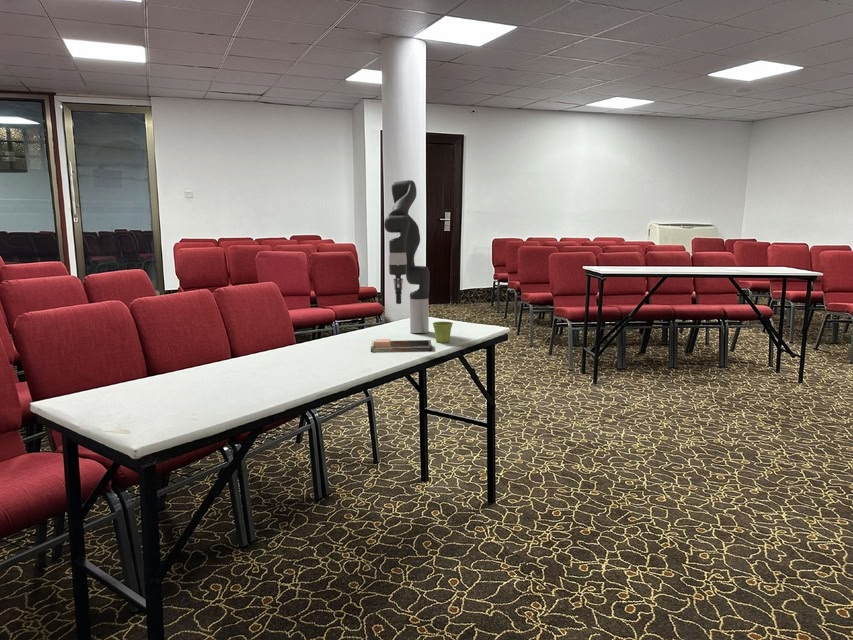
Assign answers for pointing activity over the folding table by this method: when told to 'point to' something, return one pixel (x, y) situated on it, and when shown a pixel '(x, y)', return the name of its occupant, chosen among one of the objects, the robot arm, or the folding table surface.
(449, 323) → the plant pot
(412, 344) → the trap track
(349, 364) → the folding table surface
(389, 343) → the block
